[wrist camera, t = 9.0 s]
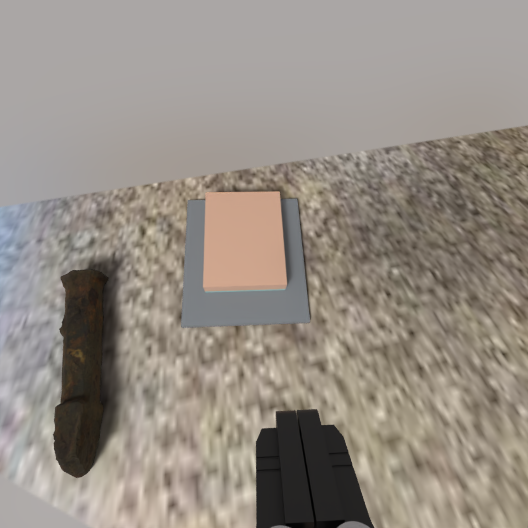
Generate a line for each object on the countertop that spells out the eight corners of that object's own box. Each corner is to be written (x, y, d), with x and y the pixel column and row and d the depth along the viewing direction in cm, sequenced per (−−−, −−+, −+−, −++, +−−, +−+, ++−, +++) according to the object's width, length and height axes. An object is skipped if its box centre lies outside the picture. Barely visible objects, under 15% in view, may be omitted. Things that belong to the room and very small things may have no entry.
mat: (296, 201, 40) (297, 198, 40) (309, 322, 34) (310, 321, 34) (188, 202, 39) (187, 200, 39) (182, 327, 33) (181, 326, 33)
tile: (285, 290, 35) (278, 200, 39) (287, 284, 33) (279, 191, 38) (205, 292, 34) (207, 201, 39) (203, 287, 32) (205, 192, 37)
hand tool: (76, 282, 35) (51, 267, 31) (112, 277, 35) (92, 262, 31) (60, 475, 28) (25, 492, 24) (105, 468, 29) (78, 482, 24)
